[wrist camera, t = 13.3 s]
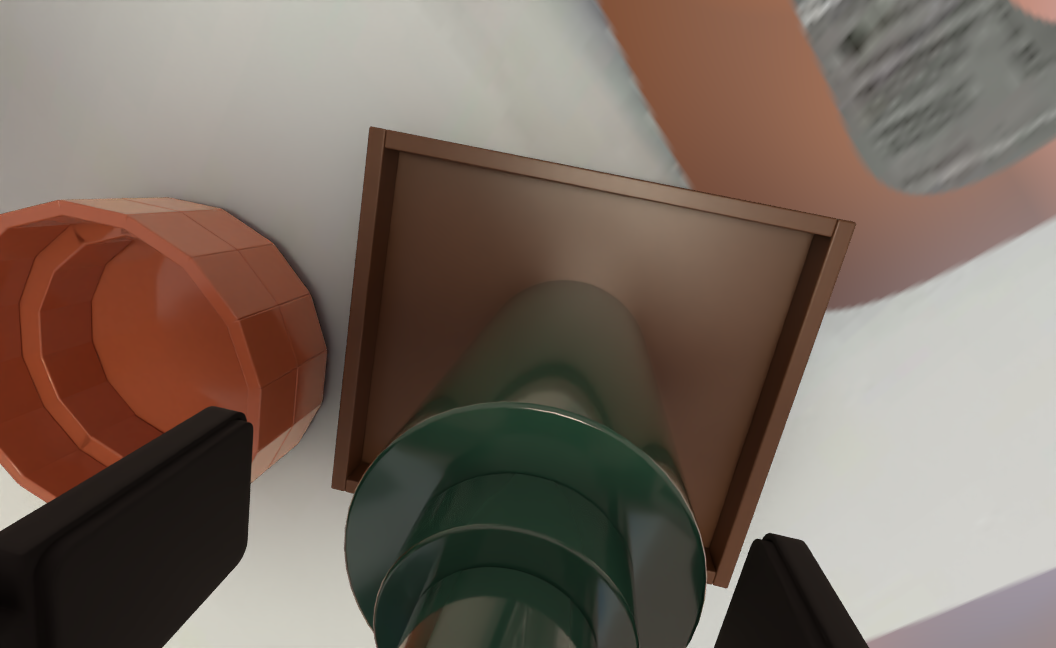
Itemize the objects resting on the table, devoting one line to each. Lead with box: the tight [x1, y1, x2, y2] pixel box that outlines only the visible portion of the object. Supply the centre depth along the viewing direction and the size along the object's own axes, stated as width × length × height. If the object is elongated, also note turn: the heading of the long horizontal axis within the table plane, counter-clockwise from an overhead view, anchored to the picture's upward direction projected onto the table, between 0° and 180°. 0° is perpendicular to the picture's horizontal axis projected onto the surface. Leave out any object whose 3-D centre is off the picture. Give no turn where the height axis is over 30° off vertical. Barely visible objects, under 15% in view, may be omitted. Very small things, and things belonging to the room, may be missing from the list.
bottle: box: [344, 280, 707, 648], centre depth 13 cm, size 6×6×17 cm
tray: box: [331, 127, 856, 588], centre depth 20 cm, size 16×14×2 cm
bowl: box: [0, 197, 327, 503], centre depth 21 cm, size 12×12×5 cm
